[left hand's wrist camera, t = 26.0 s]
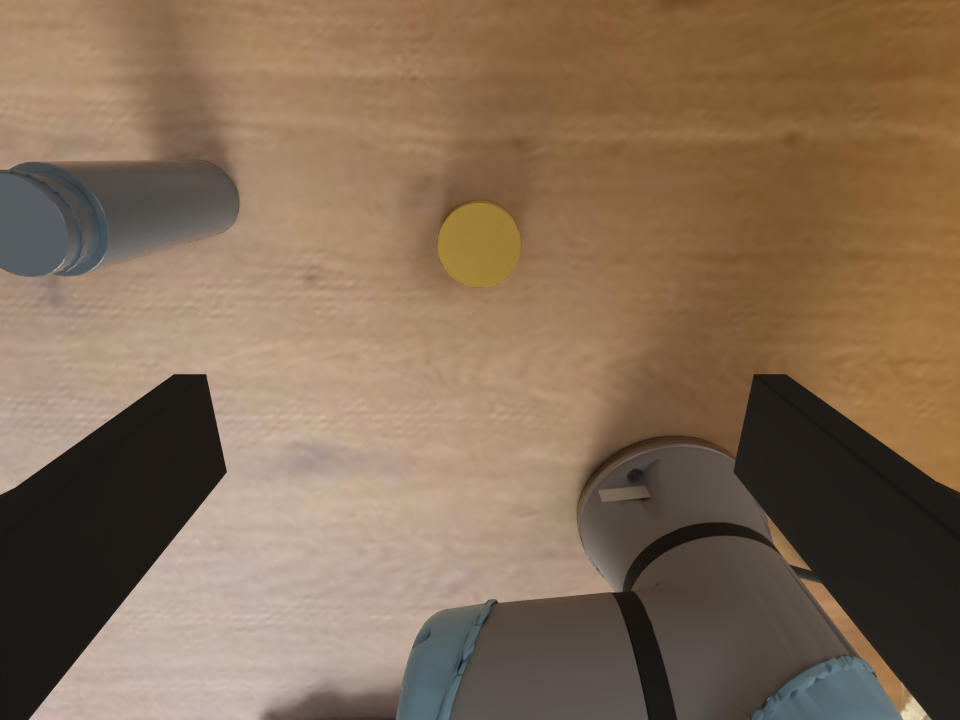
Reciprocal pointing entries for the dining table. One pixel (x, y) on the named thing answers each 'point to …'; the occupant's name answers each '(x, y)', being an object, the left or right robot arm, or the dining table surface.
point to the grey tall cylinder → (107, 212)
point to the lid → (479, 244)
